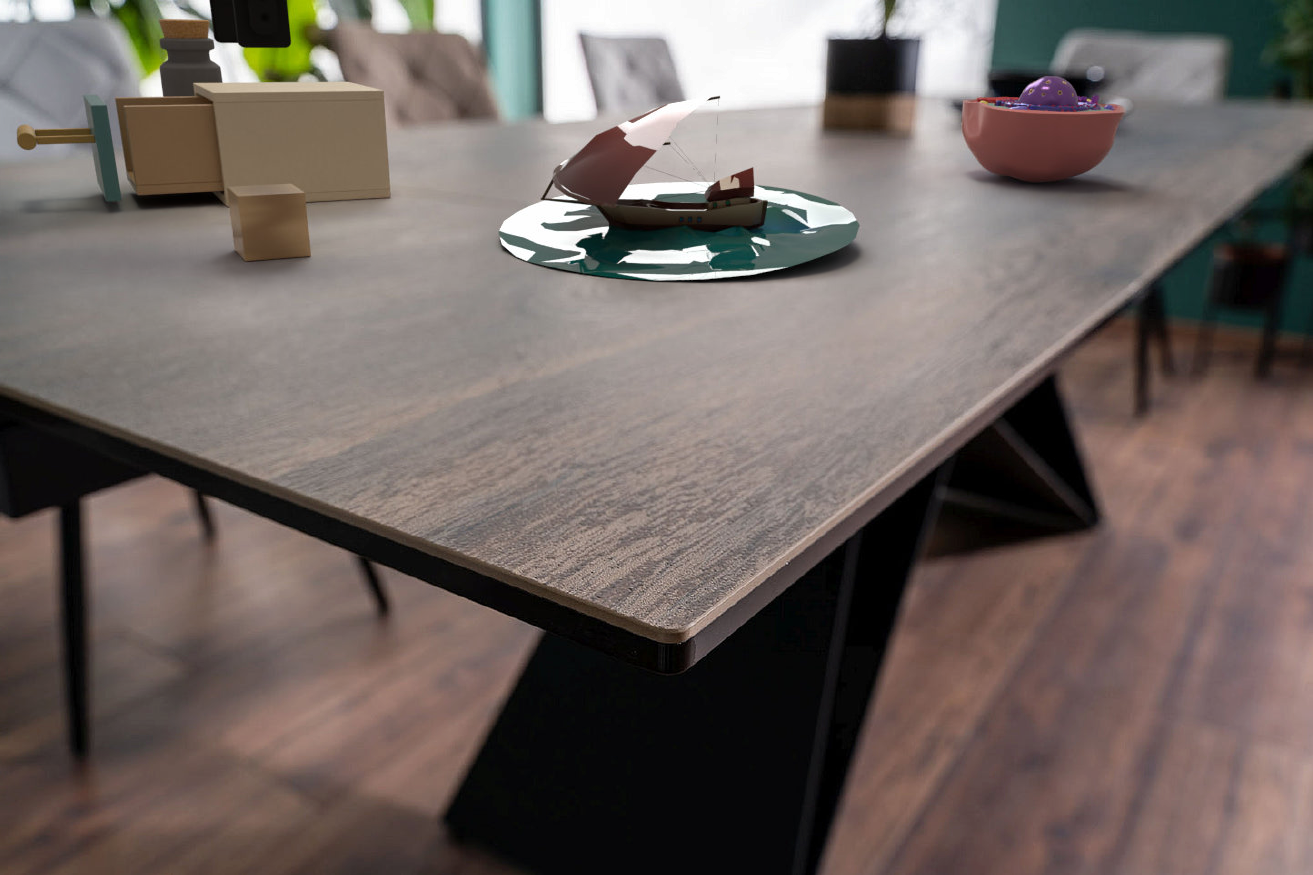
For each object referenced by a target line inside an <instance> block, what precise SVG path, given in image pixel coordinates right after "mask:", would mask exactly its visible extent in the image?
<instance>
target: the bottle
mask: <svg viewBox="0 0 1313 875" xmlns="http://www.w3.org/2000/svg"><path fill="white" fill-rule="evenodd" d="M158 23H159V25H160V29H161V31H162V34H163V37H162V38H159V47H160V49H161V50H165V51H166V54H167V60H165V61H164V62H162V63H161V64H160V65H159V75H160V76H159V77H160V84H161V91H162V97H179V96H195V94H194V87H193V83H224V81H223V75H222V74H223V73H222V69H221V66H220V65H219V64H218V63H216V62H215V61H213V60H212V59H211V55H210V52H211V51H213V50H215V41H214V40H215V39H214V38H213V39H212V38H209V32H210V20H208V19H187V18H186V19H183V18H181V19H180V18H161V19H158Z"/></svg>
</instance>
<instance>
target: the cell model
mask: <svg viewBox="0 0 1313 875" xmlns="http://www.w3.org/2000/svg"><path fill="white" fill-rule="evenodd" d="M1099 97H1100V95H1099V94H1095V95H1093V96H1092V97H1091V99H1090V98H1088V97H1087V96H1080V95H1077V92H1076V90H1075V88H1074V86H1073V85H1072V84H1071V83H1070V82H1069V81H1067V80H1066V79H1065V78H1063V77H1061V76H1056V75H1054V76H1053V75H1052V76H1051V75H1046V76H1042V77H1039V78H1038V79H1037V80H1035V81H1033V82H1030V83H1028V85H1026V86H1025V88H1024V89H1023V91H1022V93H1021V94H1020V96H1019V97H1017V96H1016V97H1014V96H1013V97H1012V96H1011V97H1009V96H998V97H997V96H995V97H994V96H992V97H991V96H990V97H989V96H988V97H982V96H981V97H976V99H975V98H973V99H963V101H962V110H961V111H962V112H961V121H960V124H961V134H962V136H963V139H964V142H965V144H966V146H967V148H968V149H969V151H970V152H971V153H972V155H973V157H975V160H976V161H977V162H978V163H979V165H980V166H981V167H982V168H983V169H985V170H986V171H988V172H990V173H991V174H994V175H997V176H1001V177H1005V178H1006V177H1007V178H1014V179H1017V180H1020V181H1022V182H1027V183H1033V184H1038V183H1053V182H1060V181H1063V180H1066V179H1070V178H1075V177H1078V176H1080V175H1082V174H1085V173H1087V172H1089V171H1091V170H1093V169H1094V168H1096V167H1097V166H1099V164H1100V163H1102V162H1103V161H1104V160H1105V158H1106V157H1107V156H1108V155H1109V154H1110V152H1111V150H1112V148H1113V146H1114V144H1115V139H1116V134H1117V130H1118V128H1119V125H1120V124H1121V121H1122V119H1123V118H1124V116H1125V115H1126V113H1127V112H1126V109H1125V107H1124V106H1123V105H1120V104H1115V103H1099Z"/></svg>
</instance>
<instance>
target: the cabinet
mask: <svg viewBox="0 0 1313 875" xmlns="http://www.w3.org/2000/svg"><path fill="white" fill-rule="evenodd" d="M193 87H194V94H195V96H203V97H205V98H207V99H209V100H211V101H213V106H214V114H215V122H216V131H217V139H218V147H219V155H220V163H221V171H222V179H223V187H224V191H211V192H212V194H214V196H216V197H217V199H219V200H220V201H221V202H222V203H223V204H224V205H225V206H226V207H228V208H229V200H228V192H227V187H232V186H252V185H272V184H293V185H294V186H296V187H297V188H299V189H300V190H302V191H303V192H305V198H306V203H314V202H333V201H348V200H349V201H350V200H352V201H353V200H366V199H367V200H368V199H385V198H391V197H392V195H391V194H392V193H391V180H390V165H389V148H388V137H387V136H388V135H387V134H388V133H387V118H386V106H385V105H386V104H385V92H384V90H383V89H380V88H379V89H378V88H375V87H372V86H367V85H363V84H360V83H355V82H352V81H279V82H278V81H272V82H271V81H269V82H268V81H267V82H266V81H265V82H263V81H261V82H260V81H259V82H255V81H253V82H223V83H193Z"/></svg>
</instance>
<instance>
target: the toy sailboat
mask: <svg viewBox="0 0 1313 875" xmlns="http://www.w3.org/2000/svg"><path fill="white" fill-rule="evenodd" d="M720 99H721V95H717V96H706V97H700V98H693V99H689V100H683V101H677V102H672V103H667V104H664V105H661V106H658V107H654V108H652V109H649V110H647V111H646V112H644V113H642V114H640V115H638V116H636V117H634V118H631V119H629V120H627V121H625V122H622V123H620V124H618V125H615V126H613V127H611V128H609V129H607V130H605V131H603V132H600V133H597V134H596V135H594V136H593V137H592V139H591V140H589V141H588V142H587V143H586V144H585V146H583V147H582V148H581V149H579V151H577V152H576V153H575V154H574V155H572V156H571V157H569V158H568V159H565V160H564V161H562V162H561V163H560V164H559V165H557V166H556V167H555V168H554V169H553V172H552V178H551V180H550V182H549V184H548V186H547V187H546V189H545V191H544V192H543V195H542V196H541V197H540V201H539V202H536V203H534V204H531V205H528V206H527V207H525V208H524V207H523V209H520V210H518V211H517V212H515V213H513V214H512V215H511V216H510V217H508V218H506V219H505V220H503V223H502V224H501V227H500V228H499V231H498V236H499V238H500V242H501V245H502V246H503V247H504V248H505V249H507V250H508V251H509V252H510V253H511V254H512V255H513V256H515V257H516V258H519V259H521V260H524V261H526V262H529V263H532V264H536V265H540V266H545V267H549V268H555V269H559V270H565V271H570V272H576V273H579V274H580V273H581V274H587V275H593V276H600V277H606V278H616V279H630V280H643V281H690V280H691V281H693V280H710V279H722V278H732V277H741V276H752V275H757V274H762V273H766V272H772V271H775V270H776V271H777V270H781V269H785V268H791V267H794V266H796V265H800V264H804V263H806V262H810V261H813V260H815V259H818V258H821V257H823V256H826V255H828V254H829V255H830V254H831V253H834V252H836V251H839V250H841V249H842V248H844V247H846V246H848V245H850V244H851V243H852V242H853V241H854V240H855V239H857V235H858V231H859V230H860V229H859V228H860V223H859V222H858V220H857V218H856V216H855V215H854V213H853V212H851V211H850V210H848V209H847V208H845V207H844V206H842V205H841V204H839V203H838V202H835V201H832V200H829V199H826V198H824V197H820V196H817V195H814V194H810V193H807V192H803V191H798V190H793V189H788V188H782V187H777V186H771V185H770V186H769V185H761V184H759V185H758V184H755V174H754V173H755V172H754V167H753V166H751V167H750V168H747V169H745V170H742V171H739V172H736V173H734V174H731V175H728V176H726V177H723V178H721V179H719V180H717V181H713V182H712V181H707V180H706V178H705V177H703V180H704V181H689V180H687V179H683V178H681V177H677V176H676V175H673V174H669V173H666V172H664V171H661V170H657V169H655V168H652V167H650V166H645V165H646V164H647V162H648V161H649V160H650V159H651V158H653V156H654V155H655V154H656V152H658V151H659V149H660V148H661V147H662V146H670V147H671V148H672V149H673V150H674V151H675V152H676V153H677V154H678V155H679V156H680V157H681V158H682V159H683V161H685V162H687V160H686V159H685V158H684V157H683V156H681V155H680V153H679V152H678V151H676V149H675V148H674V147H673V146H672V145H671V144H672V143H671V141H667V140H668V139H669V138H670V139H671V140H673V139H672V137H670V135H671V134H672V133H673V131H674V129H675V128H676V127H677V125H678V124H679V123H680V122H681V121H682V120H684V119H685V118H686V117H687V116H689V115H690V114H691V113H693V111H695V110H696V109H698V108H699V107H700V106H701V105H703V104H704V103H705V102H707V101H714V100H718V103H717V105H719V102H720ZM718 119H719V116H717V120H716V121H717V122H716V124H718V121H719V120H718ZM717 136H718V135H716V138H715V142H716V143H717V142H718V141H717V139H718V137H717ZM675 145H676V146H678V145H677V143H675ZM679 150H680V151H681V152H683V151H682V149H681V148H679ZM714 155H715V157H714V162H716V159H717V158H716V157H717V154H714ZM684 156H685V157H686V158H688V157H687V156H686V154H684ZM689 161H690V162H691V163H692V161H691V160H689ZM643 167H645V168H648V169H651V170H655V171H657V172H660V173H664V174H666V175H668V176H671V177H675V178H678V179H681V180H684V181H678V182H677V181H676V182H652V183H640V184H639V183H638V184H637V183H636V184H630V183H631V182H632V181H633V179H634V178H635V176H636V175H637V173H638V172H639V171H640V170H641V169H642V168H643ZM694 167H695V169H697V167H696V166H694ZM699 173H700V174H699ZM698 174H699V175H702V173H701V172H700V171H698ZM713 175H714V176H713V177H714V179H713V180H715V179H716V178H715V176H716V173H714V174H713ZM553 185H554V188H556V189H557V190H558V191H559V192H561V193H562V194H563V195H560V196H555V197H552V198H550V197H547V196H548V194H549V192H550V190H551V188H552V187H553Z"/></svg>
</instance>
